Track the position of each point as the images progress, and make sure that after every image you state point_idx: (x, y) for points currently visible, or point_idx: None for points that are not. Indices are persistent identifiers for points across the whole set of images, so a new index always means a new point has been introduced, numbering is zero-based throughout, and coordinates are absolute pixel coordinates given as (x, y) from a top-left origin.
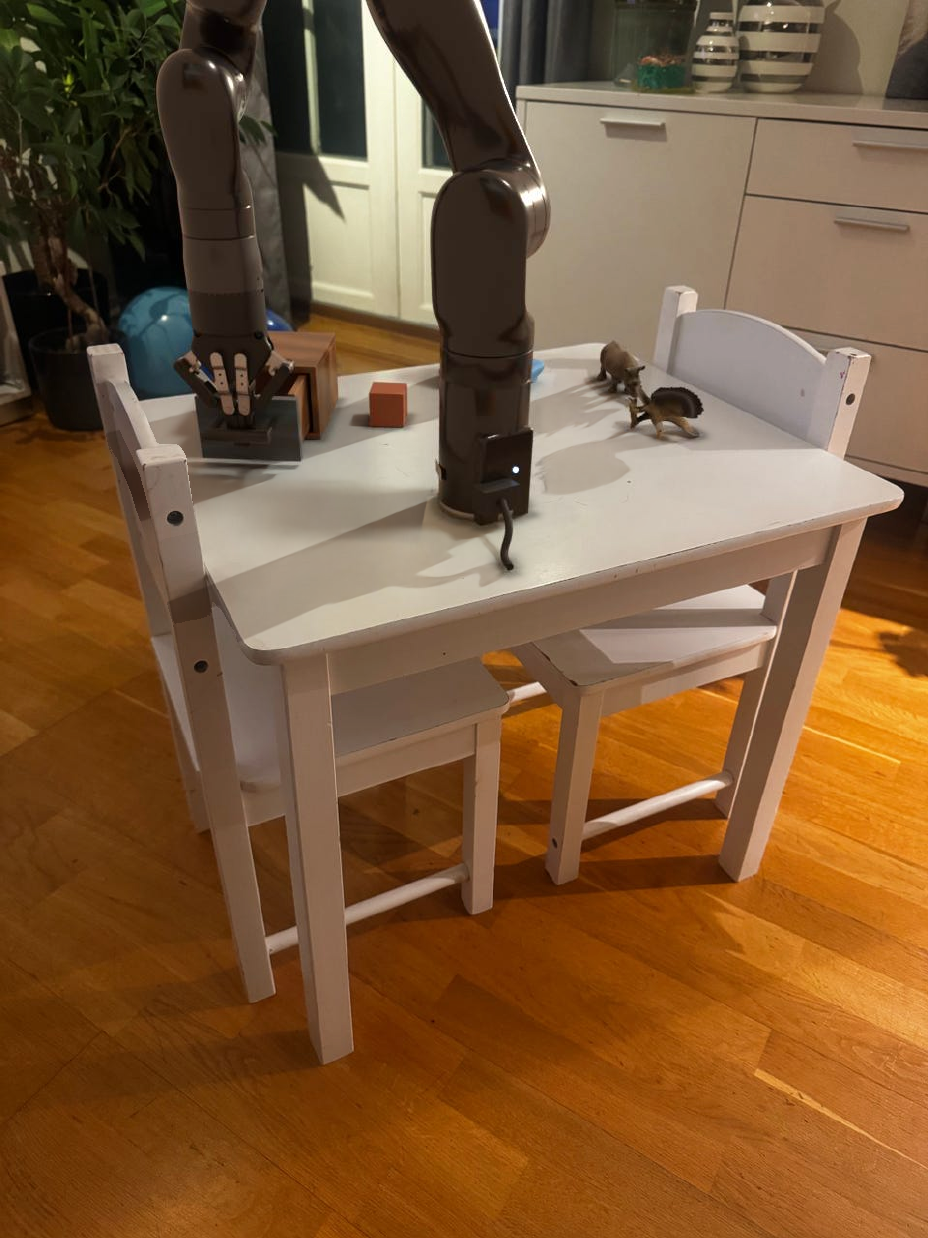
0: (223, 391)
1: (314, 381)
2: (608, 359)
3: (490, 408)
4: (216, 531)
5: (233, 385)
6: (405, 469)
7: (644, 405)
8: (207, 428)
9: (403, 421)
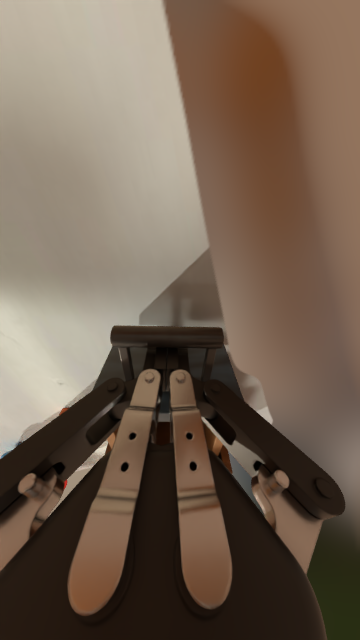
0: (186, 412)
1: (107, 452)
2: None
3: None
4: (169, 114)
5: (171, 433)
6: (7, 341)
7: None
8: (217, 345)
9: (60, 413)
